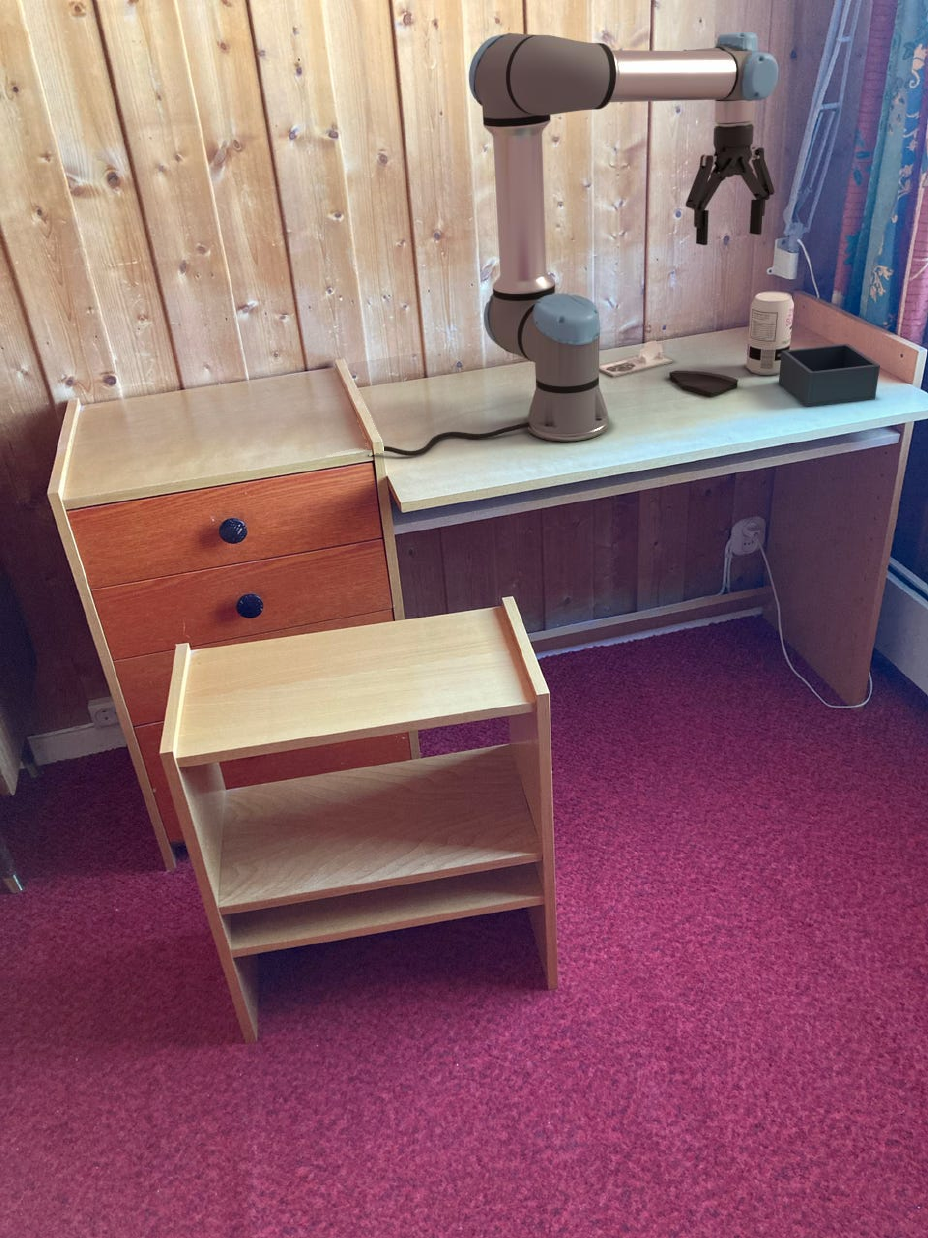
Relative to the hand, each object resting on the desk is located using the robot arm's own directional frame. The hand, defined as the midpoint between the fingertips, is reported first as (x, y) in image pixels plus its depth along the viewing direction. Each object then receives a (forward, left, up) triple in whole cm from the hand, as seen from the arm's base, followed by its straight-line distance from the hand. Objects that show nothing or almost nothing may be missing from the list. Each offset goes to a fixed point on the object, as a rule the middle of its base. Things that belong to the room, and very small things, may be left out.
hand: (728, 239), depth 212 cm
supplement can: (+6, -11, -24) cm, 27 cm away
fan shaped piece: (-9, -16, -24) cm, 31 cm away
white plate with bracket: (-19, 0, -24) cm, 31 cm away
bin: (+12, -26, -24) cm, 38 cm away
